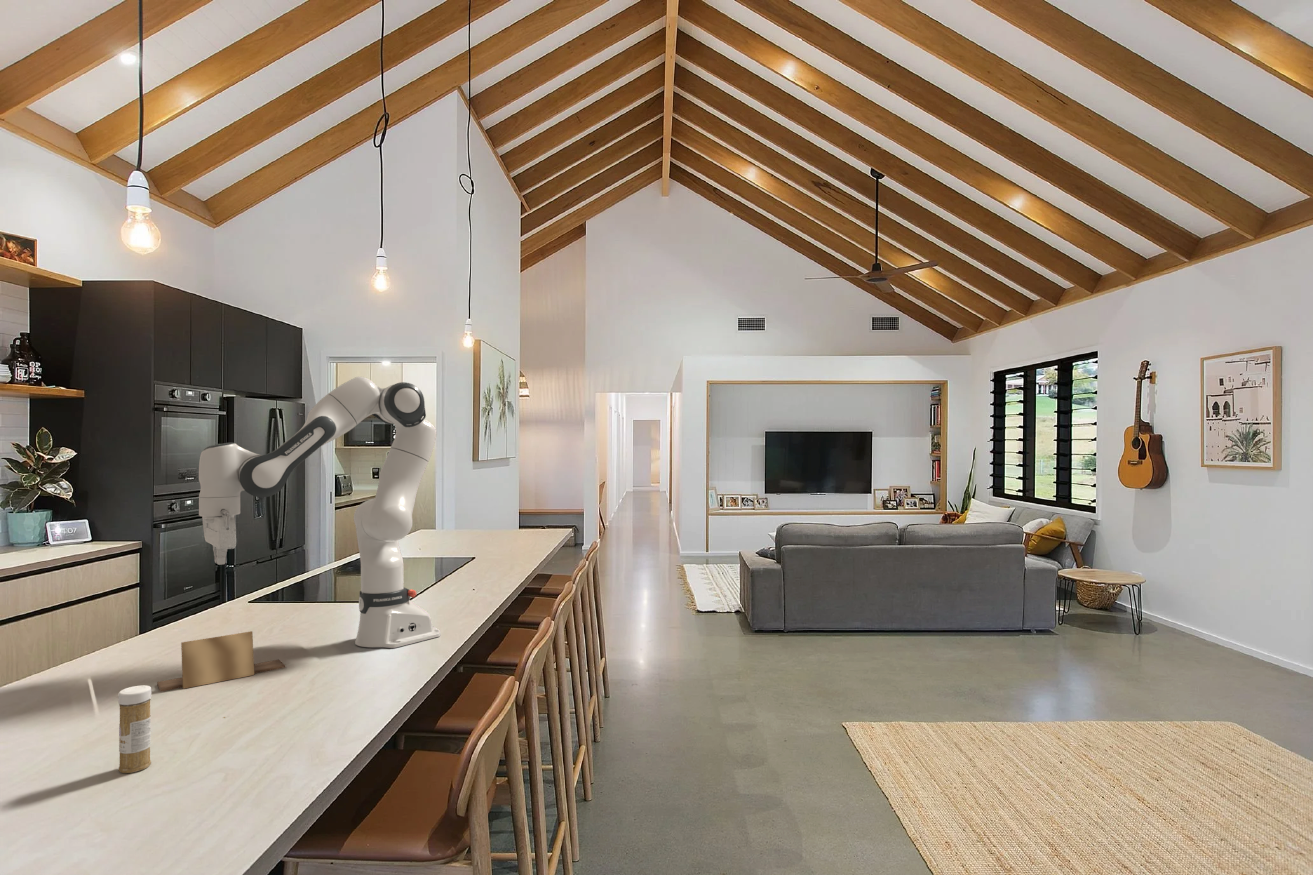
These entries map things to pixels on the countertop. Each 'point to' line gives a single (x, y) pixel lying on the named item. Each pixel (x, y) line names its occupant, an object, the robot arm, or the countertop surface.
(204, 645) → the oak plank
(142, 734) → the spice jar
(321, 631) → the countertop surface
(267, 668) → the walnut floorboard
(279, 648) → the countertop surface
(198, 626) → the countertop surface
